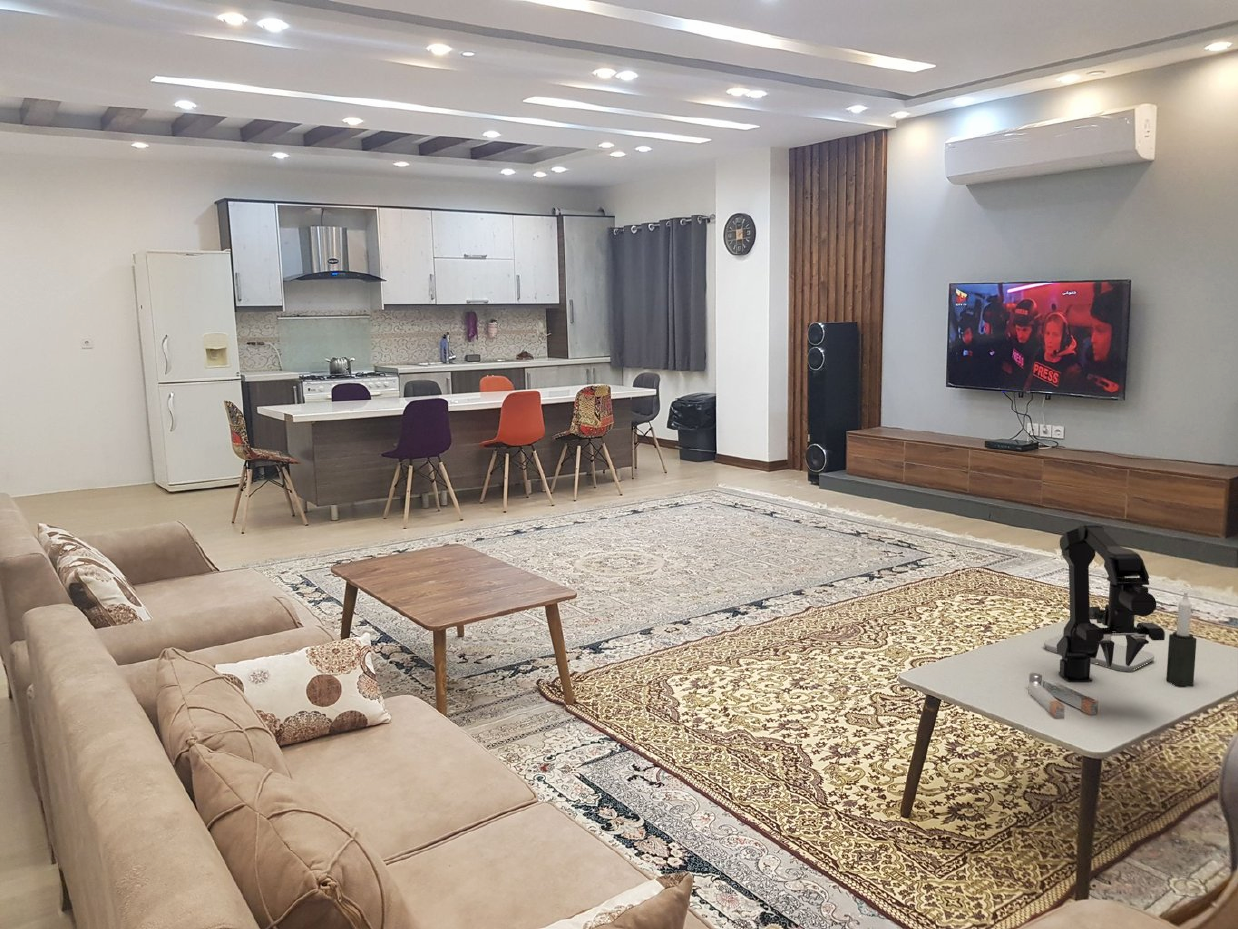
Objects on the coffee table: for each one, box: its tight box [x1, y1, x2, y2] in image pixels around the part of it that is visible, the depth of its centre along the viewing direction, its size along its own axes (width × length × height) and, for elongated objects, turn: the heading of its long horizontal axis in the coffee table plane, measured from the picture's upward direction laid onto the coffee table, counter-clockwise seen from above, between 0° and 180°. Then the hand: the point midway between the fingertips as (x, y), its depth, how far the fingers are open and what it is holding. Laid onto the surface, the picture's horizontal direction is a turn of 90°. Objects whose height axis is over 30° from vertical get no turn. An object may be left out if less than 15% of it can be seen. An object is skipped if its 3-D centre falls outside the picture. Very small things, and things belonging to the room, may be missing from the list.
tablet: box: [1043, 633, 1155, 672], centre depth 272 cm, size 16×26×2 cm, turn 35°
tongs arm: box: [1042, 678, 1099, 716], centre depth 239 cm, size 16×2×3 cm, turn 19°
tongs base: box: [1028, 672, 1065, 719], centre depth 239 cm, size 20×4×4 cm, turn 179°
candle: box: [1166, 591, 1198, 688], centre depth 248 cm, size 5×5×25 cm
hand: (1118, 665), depth 231 cm, fingers open, 4 cm apart
